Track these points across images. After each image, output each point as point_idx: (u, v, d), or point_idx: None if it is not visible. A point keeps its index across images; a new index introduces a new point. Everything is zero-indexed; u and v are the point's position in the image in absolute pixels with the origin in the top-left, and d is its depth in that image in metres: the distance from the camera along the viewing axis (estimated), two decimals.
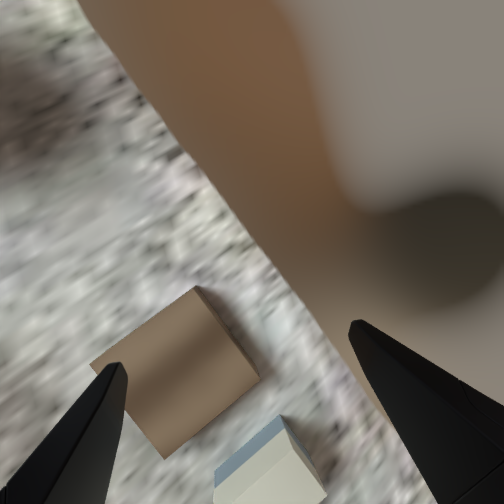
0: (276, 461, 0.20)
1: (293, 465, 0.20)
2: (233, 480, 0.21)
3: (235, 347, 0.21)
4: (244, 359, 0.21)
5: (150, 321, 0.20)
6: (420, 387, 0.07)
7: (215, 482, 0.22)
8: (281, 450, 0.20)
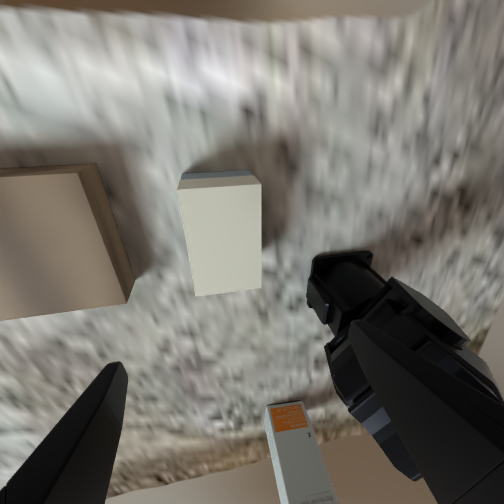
0: (181, 215, 0.15)
1: (198, 200, 0.14)
2: None
3: (6, 178, 0.13)
4: (33, 177, 0.14)
5: None
6: (420, 387, 0.07)
7: None
8: None
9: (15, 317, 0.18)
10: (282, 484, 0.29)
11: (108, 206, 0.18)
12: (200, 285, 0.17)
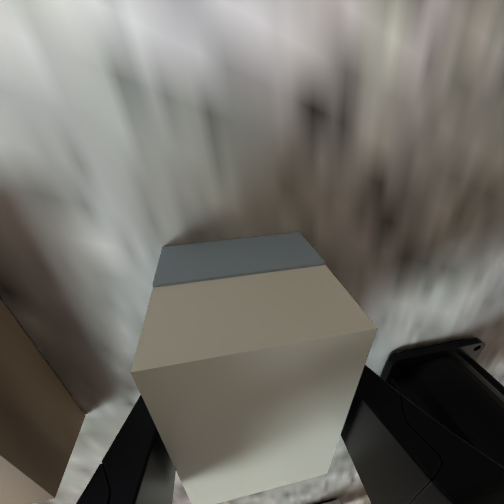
0: (153, 412, 0.05)
1: (198, 383, 0.05)
2: None
3: None
4: None
5: None
6: (360, 401, 0.07)
7: None
8: None
9: None
10: None
11: (3, 318, 0.08)
12: (204, 496, 0.08)
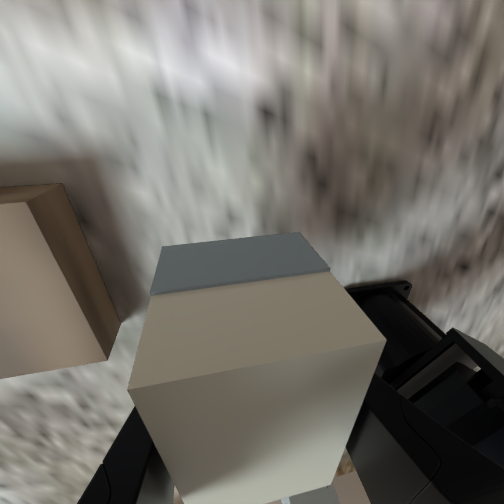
0: (150, 428, 0.05)
1: (199, 399, 0.05)
2: None
3: None
4: None
5: None
6: None
7: None
8: None
9: None
10: None
11: (81, 238, 0.13)
12: None
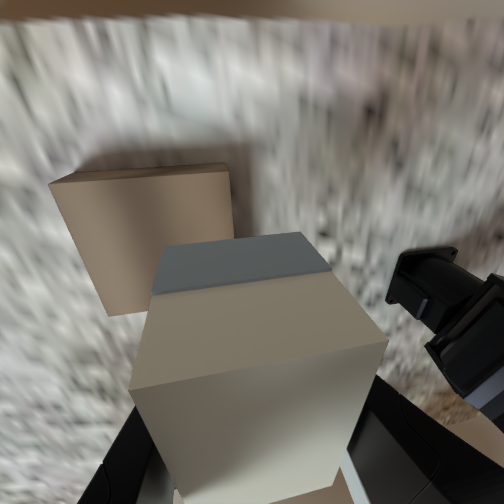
0: (152, 429, 0.05)
1: (200, 400, 0.05)
2: None
3: (167, 177, 0.14)
4: (190, 175, 0.14)
5: (80, 252, 0.15)
6: None
7: None
8: None
9: (138, 310, 0.19)
10: (355, 479, 0.30)
11: None
12: None
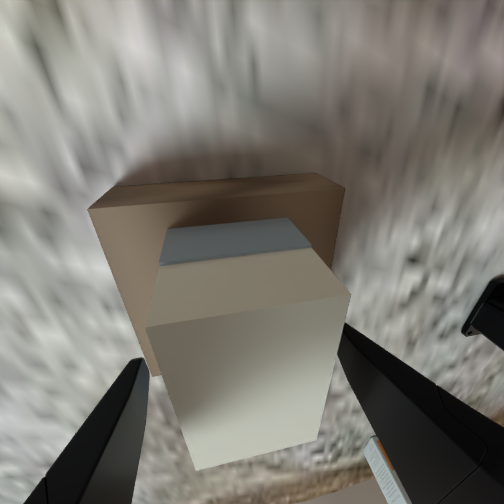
0: (161, 368, 0.06)
1: (200, 340, 0.06)
2: None
3: (260, 197, 0.10)
4: (292, 194, 0.10)
5: (125, 301, 0.11)
6: (397, 392, 0.07)
7: None
8: None
9: None
10: None
11: None
12: (205, 456, 0.09)
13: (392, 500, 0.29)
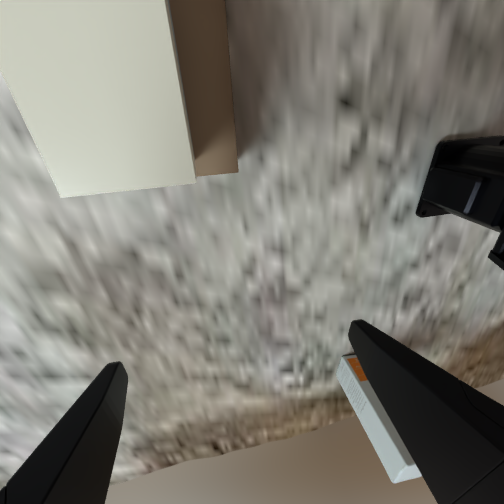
0: None
1: None
2: None
3: None
4: None
5: None
6: (420, 387, 0.07)
7: None
8: None
9: None
10: (382, 434, 0.25)
11: None
12: (63, 169, 0.09)
13: (360, 410, 0.29)
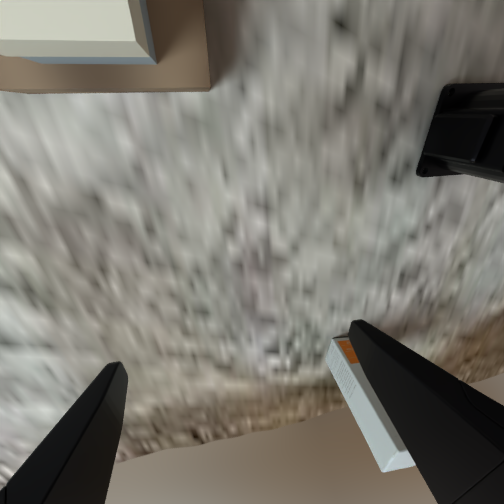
0: None
1: None
2: None
3: None
4: None
5: None
6: (420, 387, 0.07)
7: None
8: None
9: (44, 89, 0.11)
10: (373, 418, 0.23)
11: None
12: None
13: (350, 395, 0.26)
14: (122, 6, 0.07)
